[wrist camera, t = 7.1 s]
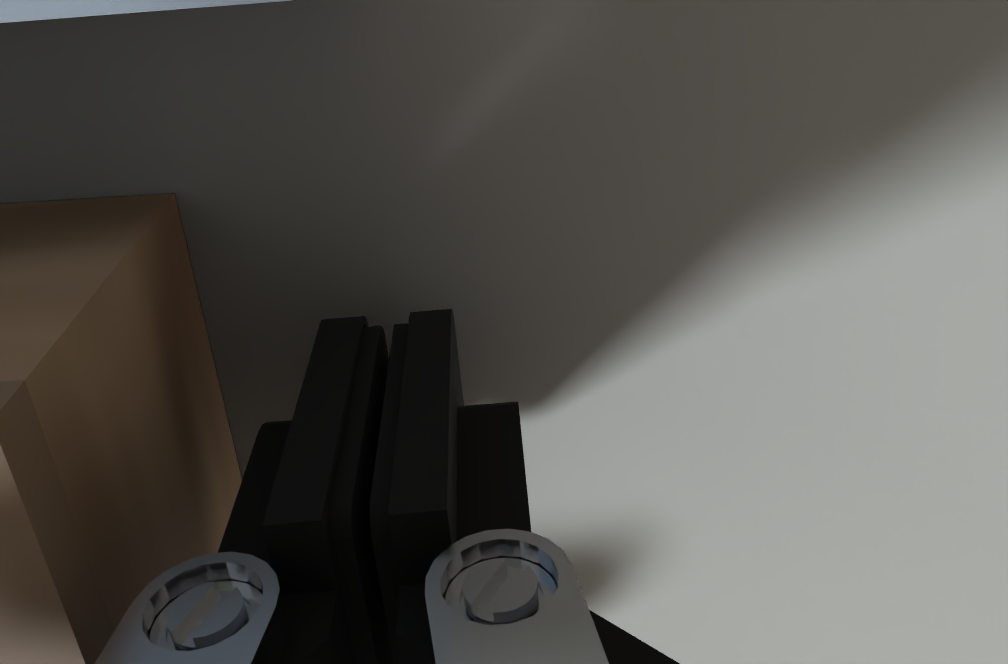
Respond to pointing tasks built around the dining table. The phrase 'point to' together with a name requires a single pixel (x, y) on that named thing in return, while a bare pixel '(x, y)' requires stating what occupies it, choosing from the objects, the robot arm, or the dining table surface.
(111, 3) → the bay
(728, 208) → the dining table surface
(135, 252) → the block
